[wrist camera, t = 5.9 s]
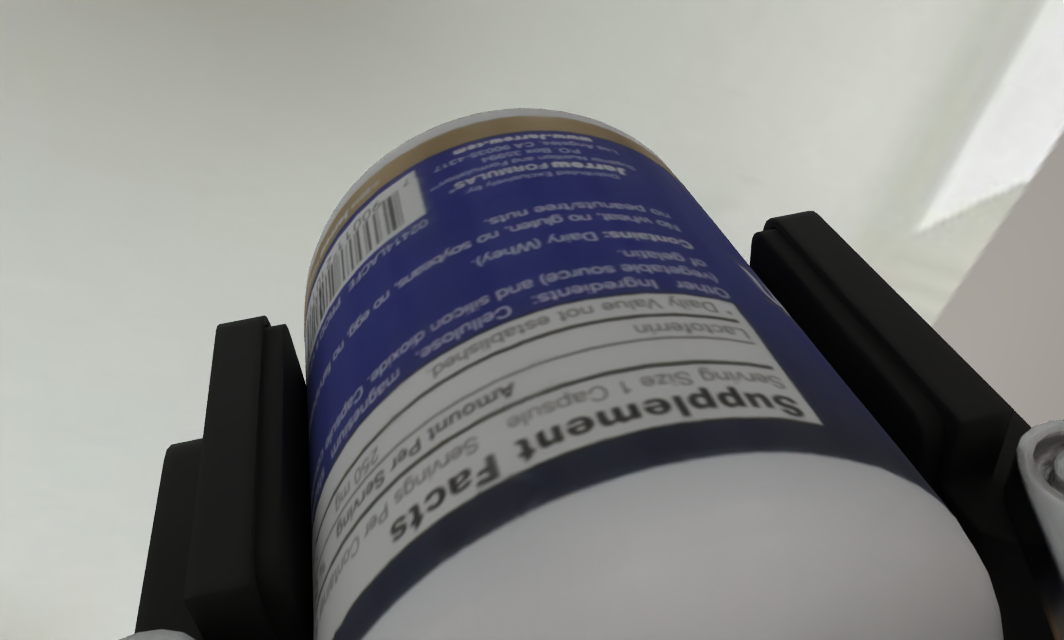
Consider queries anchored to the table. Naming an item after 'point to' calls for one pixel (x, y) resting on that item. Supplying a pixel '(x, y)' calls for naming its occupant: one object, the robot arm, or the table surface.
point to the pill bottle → (592, 418)
